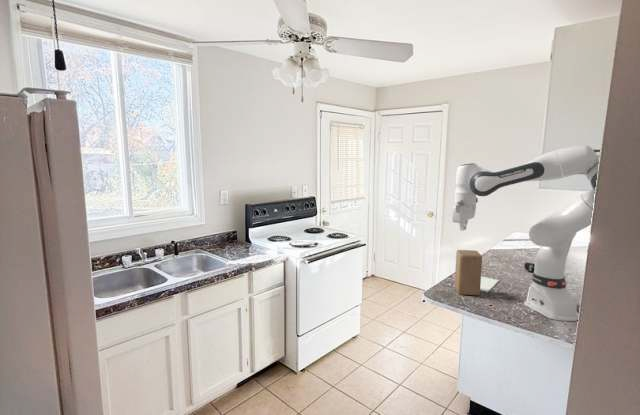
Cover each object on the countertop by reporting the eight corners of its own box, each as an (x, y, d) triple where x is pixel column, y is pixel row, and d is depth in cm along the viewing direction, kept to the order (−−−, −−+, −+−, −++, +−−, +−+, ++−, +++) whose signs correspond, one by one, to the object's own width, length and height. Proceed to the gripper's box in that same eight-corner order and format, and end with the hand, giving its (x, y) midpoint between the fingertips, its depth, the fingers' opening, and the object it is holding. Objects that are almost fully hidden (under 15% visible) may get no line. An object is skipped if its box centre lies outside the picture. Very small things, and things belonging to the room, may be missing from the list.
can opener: (522, 271, 199) (522, 262, 198) (525, 269, 204) (525, 260, 203) (558, 279, 187) (559, 269, 186) (560, 275, 192) (561, 266, 191)
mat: (487, 292, 166) (487, 291, 166) (454, 284, 176) (454, 284, 176) (498, 280, 182) (499, 280, 182) (468, 274, 193) (468, 273, 193)
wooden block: (480, 296, 161) (482, 256, 158) (458, 294, 163) (460, 255, 160) (475, 288, 170) (477, 250, 167) (454, 286, 172) (456, 249, 169)
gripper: (464, 202, 141) (462, 234, 143) (479, 198, 157) (477, 227, 159) (449, 201, 145) (447, 232, 147) (465, 197, 161) (463, 225, 163)
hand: (463, 230), depth 153 cm, fingers closed
